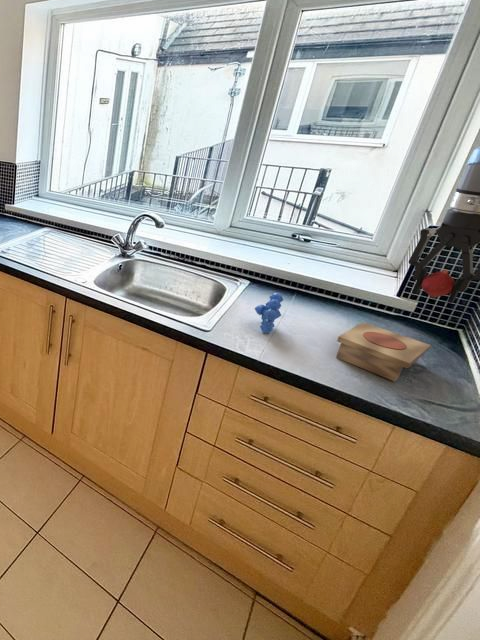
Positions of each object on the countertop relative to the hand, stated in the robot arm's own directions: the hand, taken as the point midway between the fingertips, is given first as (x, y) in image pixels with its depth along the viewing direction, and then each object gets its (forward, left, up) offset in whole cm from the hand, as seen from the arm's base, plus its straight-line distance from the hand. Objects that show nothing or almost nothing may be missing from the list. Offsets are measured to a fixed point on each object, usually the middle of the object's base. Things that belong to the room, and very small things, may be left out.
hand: (432, 296), depth 110 cm
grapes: (+27, +23, -17) cm, 39 cm away
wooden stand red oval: (+3, +14, -17) cm, 22 cm away
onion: (0, 0, 0) cm, 0 cm away
